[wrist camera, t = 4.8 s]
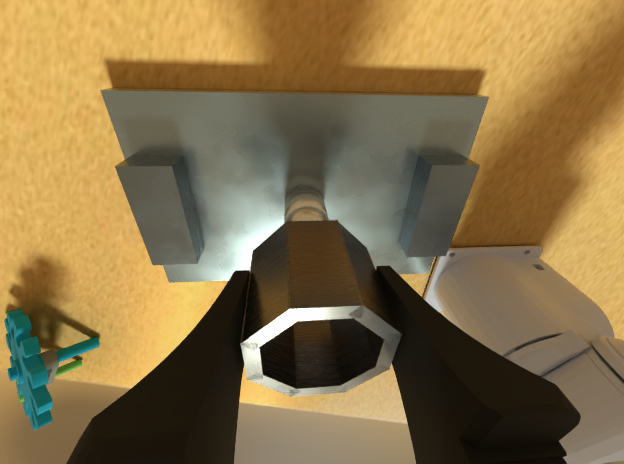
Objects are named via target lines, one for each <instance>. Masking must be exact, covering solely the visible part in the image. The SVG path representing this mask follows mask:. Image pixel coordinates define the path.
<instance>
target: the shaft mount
mask: <svg viewBox="0 0 624 464" xmlns="http://www.w3.org/2000/svg"><path fill="white" fill-rule="evenodd" d="M101 93H102V96H103V99H104V102H105V104H106V107H107V110H108V113H109V116H110V118H111V121H112V124H113V127H114V130H115V132H116V135H117V138H118V141H119V144H120V146H121V149H122V152H123V155H124V158H125V160H124V161H122V162H121V163H119V164H118V165H116V166H115V168H116V171H117V173H118V176H119V178H120V181H121V184H122V186H123V189H124V191H125V194H126V197H127V199H128V202H129V204H130V207H131V210H132V212H133V215H134V217H135V220H136V223H137V225H138V228H139V230H140V233H141V236H142V238H143V241H144V243H145V246H146V249H147V251H148V254H149V256H150V259H151V262H152V264H153V265H163V267H164V269H165V272H166V275H167V278H168V281H169V282H196V281H224V280H229V279H230V278H231V276H232V274H233V273H234V272H235V271H239V270H250V267H251V259H252V252H253V250H254V249H255V248H256V247H258V246H259V245H260V244H261V243H262V242H263V241H265V240H266V239H267V238H268V237H269V236H270V235H271V234H273V233H274V232H275V231H276V230H277V229H278V228H279V227H281V226H282V225H283V224H284V223H285V222H286V221H322V220H338V222H339V223H341V224H342V225H343V226H344V227H345V228H346V229H347V230H348V231H349V232H350V233H351V234H352V235H354V236H355V237H356V238H357V239H358V240H359V241H360V242H361V243H362V244H363V245H364V246H365V247H367V250H368V252H369V254H370V257H371V259H372V262H373V264H374V266H375V269H376V267H377V266H391V267H392V268H393V269H394V270H395V271H396V272H397V273H398V274H422V273H429V271H430V268H431V265H432V262H433V259H434V257H437V256H446V255H447V252H448V249H449V246H450V244H451V241H452V238H453V236H454V233H455V230H456V228H457V225H458V222H459V220H460V217H461V214H462V212H463V209H464V206H465V203H466V201H467V198H468V195H469V193H470V190H471V187H472V185H473V182H474V179H475V177H476V174H477V171H478V169H479V166H480V165H478V164H477V163H475V162H473V161H472V160H470V159H468V157H469V154H470V151H471V148H472V145H473V142H474V139H475V136H476V134H477V131H478V128H479V125H480V122H481V119H482V116H483V113H484V110H485V107H486V104H487V101H488V99H489V97H487V96H482V95H478V94H424V93H369V92H314V91H258V90H203V89H148V88H109V89H104V90H101Z"/></svg>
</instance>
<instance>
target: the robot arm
mask: <svg viewBox="0 0 624 464" xmlns="http://www.w3.org/2000/svg"><path fill="white" fill-rule="evenodd" d="M542 251H543V249H542V248H541V247H540V246H503V247H468V248H449V249H448V252H447V255H446V256H438V258H437V261H436V263H435V266H434V269H433V272H432V275H431V278H430V280H429V283H428V286H427V289H426V292H425V295H424V297H423V298H422V297H421V296H420V295H419V294H418V293H417V292H416V291H415V290H414V289H413V288H412V287H410V286H409V285H408V284H407V283H406V282H405V281H404V280H403V279H402V278H401V277H400V275H399V274H398V273H397V272H396V271H395V270H394V269H393V268H392V267H391V266H377V267H376V271H377V274H378V276H379V278H380V281H381V283H382V286H383V288H384V291H385V293H386V295H387V298H388V300H389V303H390V305H391V307H392V310H393V312H394V315H395V317H396V319H397V322H398V324H399V327H400V329H401V332H402V334H403V335H402V336H401V338H400V341H399V344H398V347H397V349H396V352H395V355H394V357H393V360H392V365H393V368H394V371H395V375H396V378H397V382H398V386H399V390H400V393H401V397H402V401H403V405H404V409H405V414H406V418H407V422H408V426H409V431H410V435H411V440H412V444H413V448H414V454H415V459H416V464H624V341H623V340H621V339H616V338H614V332H613V329H612V326H611V324H610V322H609V320H608V318H607V316H606V315H605V314H604V312H603V311H602V310H601V308H600V307H599V306H598V305H597V304H596V303H595V302H594V301H592V300H591V299H590V298H589V297H587V296H586V295H585V294H584V293H582V292H581V291H580V290H579V289H578V288H576V287H575V286H574V285H573V284H571V283H570V282H569V281H568V280H566V279H565V278H564V277H563V276H561V275H560V274H559V273H558V272H557V271H555V270H554V269H553V268H552V267H550V266H549V265H548V264H547V263H545V262H544V261H543V260H542V259H540V258H539V256H540V255H541V253H542ZM450 253H452V254H450ZM249 276H250V270H239V271H235V272H234V273H233V274H232V276H231V278H230V279H229V281H228V283H227V284H226V286H225V287H224V289H223V290H222V292H221V294H220V295H219V296H218V298H217V299H216V301H215V302H214V304H213V305H212V306H211V308H210V309H209V310H208V312H207V313H206V314H205V315H204V317H203V318H202V319H201V320H200V322H199V323H198V324H197V325H196V327H195V328H194V329H193V330H192V331H191V332H190V334H189V335H188V336H187V337H186V338H185V339H184V340H183V341H182V342H181V343H180V344H179V345H178V346H177V347H176V348H175V349H174V350H173V351H172V352H171V353H170V354H169V355H168V356H167V357H166V358H165V359H164V360H163V361H162V362H161V363H160V364H159V365H158V366H157V367H156V368H155V369H153V370H152V371H151V372H150V373H149V374H148V375H147V376H145V377H144V378H143V379H142V380H141V381H140V382H138V383H137V384H136V385H135V386H134V387H133V388H131V389H130V390H129V391H128V392H127V393H126V394H124V395H123V396H121V397H120V398H119V399H117V400H116V401H115V402H114V403H112V404H111V405H110V406H108V407H107V408H106V409H104V410H103V411H102V412H101V413H99V414H98V415H96V416H95V417H94V418H92V420H91V422H90V423H89V425H88V426H87V428H86V429H85V431H84V432H83V434H82V436H81V438H80V439H79V441H78V443H77V445H76V447H75V448H74V450H73V452H72V454H71V456H70V458H69V460H68V462H67V464H234V453H235V441H236V430H237V419H238V408H239V398H240V388H241V380H242V373H243V368H244V359H243V354H242V349H241V345H240V340H241V332H242V325H243V318H244V310H245V303H246V296H247V289H248V283H249ZM439 312H443V313H444V315H445V316H446V318H445V317H444V316H443V315H442V314H440V313H439Z"/></svg>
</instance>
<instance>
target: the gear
mask: <svg viewBox="0 0 624 464" xmlns="http://www.w3.org/2000/svg"><path fill="white" fill-rule="evenodd" d="M6 314H7V318H6V319H5V320H4V322H5V326H6V329H7V332H8V334H6V341H7V345H8V347H9V349H10V352H11V355H12V356H11V357H10V362H11V367H12V368H9V369H8V375H9V378H10V381H12V380H15V379H16V385H17V389H18V392H17V394H18V398H19V401H20V402H23V401H25V402H24V403H23V407H24V410H25V413H26V416H27V417H29V416H30V422H31V425H32V427H33V429H34V430H36V429H38V428H40V427H42V426H44V425H46V424H48V423H50V422H52V416H51V413H50V409H52V406H53V404H52V398H51V396H50V394H49V392H48V390H47V388H46V386H47V385H49V384H51V383H53V380H54V378H55V377H56V376H59V375H61V374H63V373H66V372H68V371H70V370H73V369H75V368H77V367H80V366H82V362H81V359H78V360H76V361H73V362H71V363H68V364H66V365H63V366H61V367H59V368H58V366H59V362H61V361H64V360H66V359H69V358H71V357H74V356H76V355H79V354H82V353H84V352H87V351H89V350H92V349H94V348H97V347H99V340H98V338H97V337H94V338H91V339H88V340H86V341H83V342H80V343H77V344H75V345H72V346H69V347H67V348H64V349H61V350H58V351H55V350H54V349H51V350H48V351H45V352H43V353H41V349H40V345H39V342H38V338H37V336H35V337H32V338H31V337H30V331H31V330H32V326H31V322H30V320H29V317H28V315H25V316H24V313H23V311H22V310H21V309H17V310H13V311H9V312H6ZM38 353H40V354H38Z"/></svg>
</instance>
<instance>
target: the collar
mask: <svg viewBox="0 0 624 464" xmlns="http://www.w3.org/2000/svg"><path fill="white" fill-rule="evenodd" d="M402 335H403V334H402V332H401V329H400V327H399V324H398V322H397V319H396V317H395V315H394V312H393V310H392V307H391V305H390V303H389V300H388V298H387V295H386V293H385V291H384V288H383V286H382V283H381V281H380V278H379V276H378V274H377V271H376V269H375V266H374V264H373V262H372V259H371V257H370V254H369V252H368V250H367V247H365V246H364V245H363V244H362V243H361V242H360V241H359V240H358V239H357V238H356V237H355V236H354V235H352V234H351V233H350V232H349V231H348V230H347V229H346V228H345V227H344V226H343V225H342V224H341V223H339V222H338V220H322V221H286V222H285V223H284V224H283V225H282V226H281V227H279V228H278V229H277V230H276V231H275V232H274V233H273V234H271V235H270V236H269V237H268V238H267V239H266V240H265V241H263V242H262V243H261V244H260V245H259V246H258V247H256V248H255V249H254V250H253V252H252V259H251V267H250V276H249V283H248V289H247V296H246V303H245V310H244V318H243V325H242V332H241V340H240V345H241V349H242V354H243V359H244V364H245V370H246V375H247V380H250V381H252V382H255V383H257V384H260V385H263V386H265V387H268V388H270V389H273V390H275V391H278V392H280V393H283V394H285V395H288V396H290V397H292V396H304V395H316V394H329V393H341V392H346V391H348V390H350V389H352V388H354V387H356V386H358V385H360V384H361V383H363V382H365V381H367V380H369V379H371V378H373V377H375V376H377V375H379V374H381V373H383V372H385V371H387V370H389V369H390V365H391V363H392V360H393V357H394V355H395V352H396V349H397V347H398V344H399V341H400V338H401V336H402Z"/></svg>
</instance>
